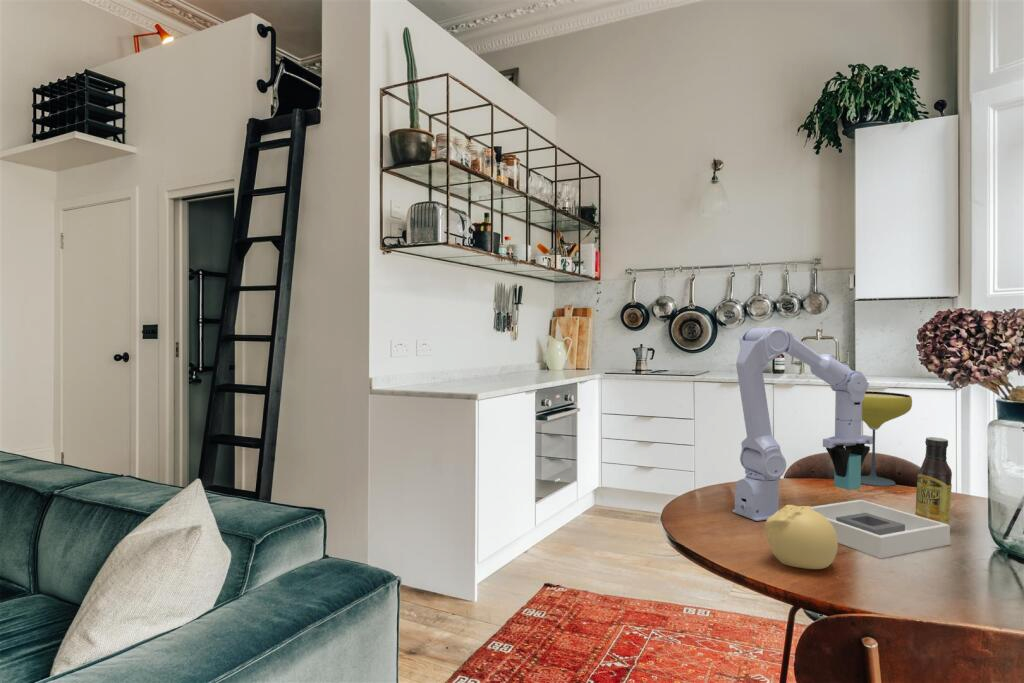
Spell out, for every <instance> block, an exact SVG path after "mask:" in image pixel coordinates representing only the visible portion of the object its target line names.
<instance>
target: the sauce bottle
mask: <svg viewBox="0 0 1024 683" xmlns="http://www.w3.org/2000/svg"><path fill="white" fill-rule="evenodd" d="M924 443H925V457H924V459H923V461H922V464H921V466H920V469H919V471H918V473H917V480H916V481H917V482H916V497H915V514H914V515H917V516H920V517H924V518H927V519H931V520H934V521H938V522H941V523H945V524H948V525H950V520H951V519H950V518H951V508H952V507H951V506H952V486H953V484H952V474H953V472H952V469H951V467H950V465H949V463H948V461H947V449H948V446H949V440H948V439H945V438H941V437H935V436H934V437H933V436H928V437H926V438H925V442H924Z"/></svg>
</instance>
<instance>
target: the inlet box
mask: <svg viewBox="0 0 1024 683" xmlns="http://www.w3.org/2000/svg"><path fill="white" fill-rule="evenodd" d="M810 507H811V509H812V510H814V511H816V512H818V513H820V514H822V515H823V516H824V517H826V518H827V519H828V520H829V521H830V523H831V524H832V525H833V527H834V529H835V531H836V534H837V539H838V544H841V545H843V546H845V547H849V548H852V549H854V550H856V551H860V552H863V553H865V554H868V555H871V556H873V557H876V558H878V559H886V558H889V557H896V556H901V555H906V554H911V553H915V552H920V551H926V550H930V549H934V548H939V547H946V546H950V544H951V524H949V525H948V524H945V523H941V522H938V521H934V520H931V519H927V518H924V517H920V516H917V515H915V514H913V513H911V512H905V511H902V510H899V509H896V508H891V507H889V506H886V505H882V504H877V503H874V502H871V501H868V500H864V499H855V500H849V501H848V500H847V501H840V502H835V503H834V502H833V503H828V504H823V505H822V504H821V505H815V506H810Z"/></svg>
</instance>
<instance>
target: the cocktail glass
mask: <svg viewBox="0 0 1024 683" xmlns="http://www.w3.org/2000/svg"><path fill="white" fill-rule="evenodd" d="M912 407H913V399H912V395H909V394H906V393H900V392H899V393H897V392H889V391H888V392H887V391H885V392H884V391H871V390H870V391H868V390H867V391H866V392H865V394H864V399H863V402H862V422H863V423H865V424H866V426H867V427H868V429H870V430H872V437H873V444H871V445H872V455H871V456H872V457H871V470H870V473H869V475H861V485H862V484H863V485H866V486H874V487H892V486H895V485H896V482H895V481H894V480H892V479H890V478H885V477H881V476H878V475H877V471H876V430H878V429H880V427H882V425H883V424H885V423H887V422H889V421H892V420H894V419H896V418H899V417H901V416H904V415H905V414H907V413H908V412H911V410H912Z"/></svg>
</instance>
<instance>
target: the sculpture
mask: <svg viewBox="0 0 1024 683" xmlns="http://www.w3.org/2000/svg"><path fill="white" fill-rule="evenodd" d="M811 507H812V506H811V505H806V506H805V505H801V506H800V505H799V506H797V505H794V504H786V505H784V506H783V507H781V508H779V511H777V512H775V514H774V515H772V516H770V517H769V518H768V519H767V520H765V524H764V526H765V537H766V541H767V542H768V544H769V546H770V549H771V551H772V553H773V554H774V556H775V557H776V559H777V560H778V561H779V562H780V563H781V564H783V565H785V566H789V567H795V568H800V569H808V570H823V569H826V568H828V567H829V566H830V565H831V564H832V563H833V562H834V560H835V558H836V555H837V553H838V546H839V543H838V539H837V534H836V531H835V529H834V527H833V525H832V524H831V523H830V521H829V520H828V519H827V518H826V517H824V516H823V515H822V514H820V513H818V512H816V511H814V510H812V509H811Z"/></svg>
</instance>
